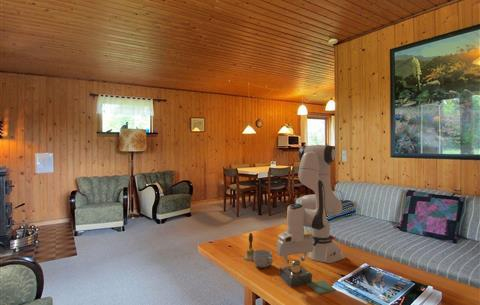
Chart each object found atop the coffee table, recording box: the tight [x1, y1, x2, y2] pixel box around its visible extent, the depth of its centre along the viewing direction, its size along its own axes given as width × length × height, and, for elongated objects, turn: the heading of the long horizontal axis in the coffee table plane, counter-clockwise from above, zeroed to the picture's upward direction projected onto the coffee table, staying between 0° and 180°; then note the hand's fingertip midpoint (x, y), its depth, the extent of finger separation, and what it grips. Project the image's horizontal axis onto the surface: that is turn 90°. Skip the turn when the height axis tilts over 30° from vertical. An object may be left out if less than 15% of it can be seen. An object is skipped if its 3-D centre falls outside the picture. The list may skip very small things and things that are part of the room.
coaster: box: [306, 279, 337, 295], centre depth 135 cm, size 10×10×1 cm
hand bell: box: [243, 232, 255, 262], centre depth 171 cm, size 8×8×16 cm
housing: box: [279, 264, 313, 289], centre depth 143 cm, size 12×12×6 cm
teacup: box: [253, 249, 274, 269], centre depth 159 cm, size 14×11×8 cm
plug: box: [290, 259, 301, 274], centre depth 143 cm, size 5×5×10 cm
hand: (295, 261), depth 142 cm, fingers open, 8 cm apart
